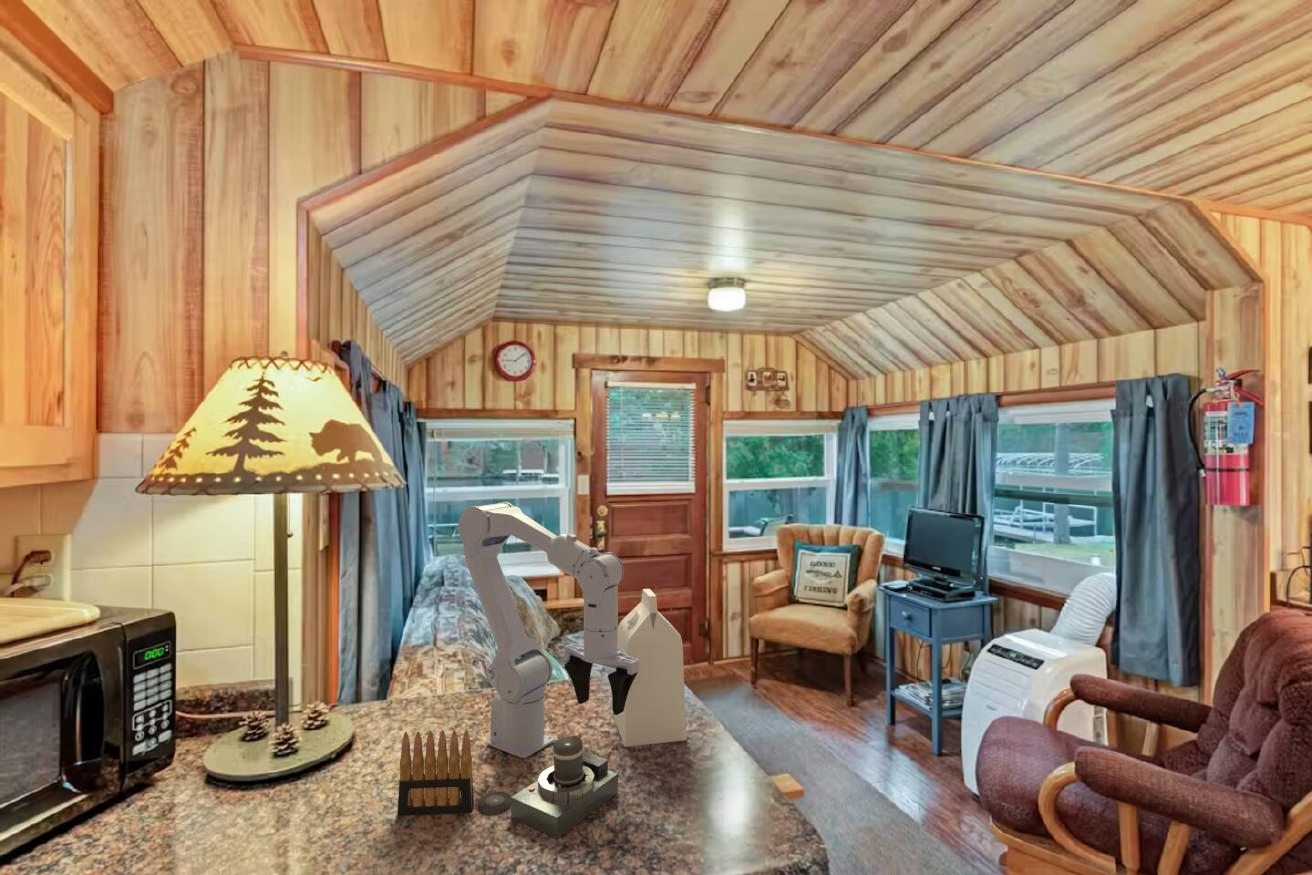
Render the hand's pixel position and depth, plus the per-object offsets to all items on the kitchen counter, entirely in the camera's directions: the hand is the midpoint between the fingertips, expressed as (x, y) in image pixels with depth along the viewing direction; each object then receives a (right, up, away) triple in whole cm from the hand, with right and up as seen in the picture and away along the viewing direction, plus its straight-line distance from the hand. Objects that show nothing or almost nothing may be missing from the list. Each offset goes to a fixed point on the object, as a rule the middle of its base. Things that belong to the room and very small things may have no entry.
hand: (600, 707), depth 110 cm
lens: (-4, -7, -11) cm, 14 cm away
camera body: (-4, -10, -12) cm, 16 cm away
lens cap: (-15, -10, -12) cm, 22 cm away
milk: (+8, -10, +14) cm, 19 cm away
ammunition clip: (-23, -10, -13) cm, 29 cm away
